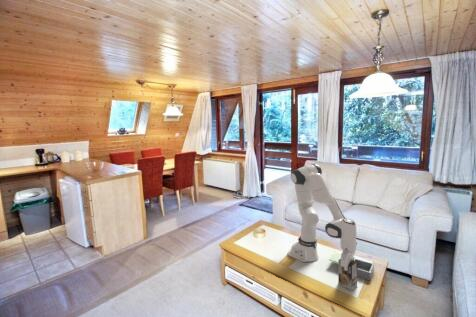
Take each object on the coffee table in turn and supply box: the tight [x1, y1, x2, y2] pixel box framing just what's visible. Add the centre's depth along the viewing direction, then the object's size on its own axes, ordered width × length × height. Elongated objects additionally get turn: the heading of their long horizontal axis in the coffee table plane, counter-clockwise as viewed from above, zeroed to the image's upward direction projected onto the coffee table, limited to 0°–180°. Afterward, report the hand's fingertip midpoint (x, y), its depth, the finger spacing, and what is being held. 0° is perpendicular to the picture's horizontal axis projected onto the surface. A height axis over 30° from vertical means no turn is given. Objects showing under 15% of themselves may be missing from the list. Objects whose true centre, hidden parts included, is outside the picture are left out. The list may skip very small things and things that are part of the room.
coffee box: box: [337, 259, 358, 291], centre depth 149 cm, size 9×6×16 cm
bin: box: [355, 258, 375, 282], centre depth 162 cm, size 15×13×5 cm
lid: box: [328, 251, 357, 264], centre depth 169 cm, size 15×13×3 cm
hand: (347, 266), depth 148 cm, fingers closed on coffee box, 7 cm apart
